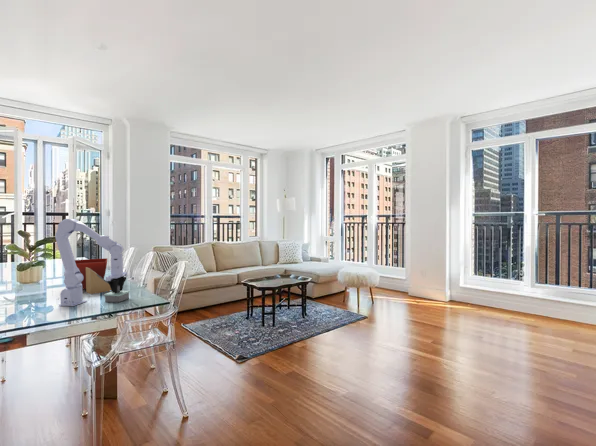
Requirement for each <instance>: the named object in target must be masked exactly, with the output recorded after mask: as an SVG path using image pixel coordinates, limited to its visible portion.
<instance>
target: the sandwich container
mask: <svg viewBox="0 0 596 446" xmlns="http://www.w3.org/2000/svg"><path fill="white" fill-rule="evenodd" d="M110 290H111V287H110V285H109V283H108V282H107V281H106V278H104V279H103V278H102V277H101V276H99V275H98V274H97V273H95V272H94V271H93V270H91V269H90V268H87V267H86V289H85V291H86V293H88V294H89V295H94V294H101V293H107V292H111V291H110ZM106 291H107V292H106Z"/></svg>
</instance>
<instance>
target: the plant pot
mask: <svg viewBox="0 0 596 446" xmlns="http://www.w3.org/2000/svg"><path fill="white" fill-rule="evenodd" d="M75 263H76V266H77V267H78V269H79V270H80V273H81V274H82V275H83V277H84V279H83V281H82V282H81V283H82V290H86V267H87V268H90V269H91V270H93V271H94V272H95V273H97V274H98V275H99V276H101V277H102V278H103V279H105V277H106V272H107V271H106V270H107V266H108V258H89V259H88V258H87V259H75Z"/></svg>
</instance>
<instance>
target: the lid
mask: <svg viewBox="0 0 596 446" xmlns="http://www.w3.org/2000/svg"><path fill="white" fill-rule="evenodd" d="M130 292H131V291H130V290H122V291H120V286H119V285H118V286H117V293H112V291H108V292H105V293H104V294H103V295H104V297H105V296H121V295H124V294H126V293H129V294H130Z"/></svg>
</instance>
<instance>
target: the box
mask: <svg viewBox="0 0 596 446" xmlns="http://www.w3.org/2000/svg"><path fill="white" fill-rule="evenodd" d="M129 299H130V292H129V293H126V294H124V295H121V296H104V301H105V302H104V303H118V304H119V303H121V302H125V301H127V300H129Z"/></svg>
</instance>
